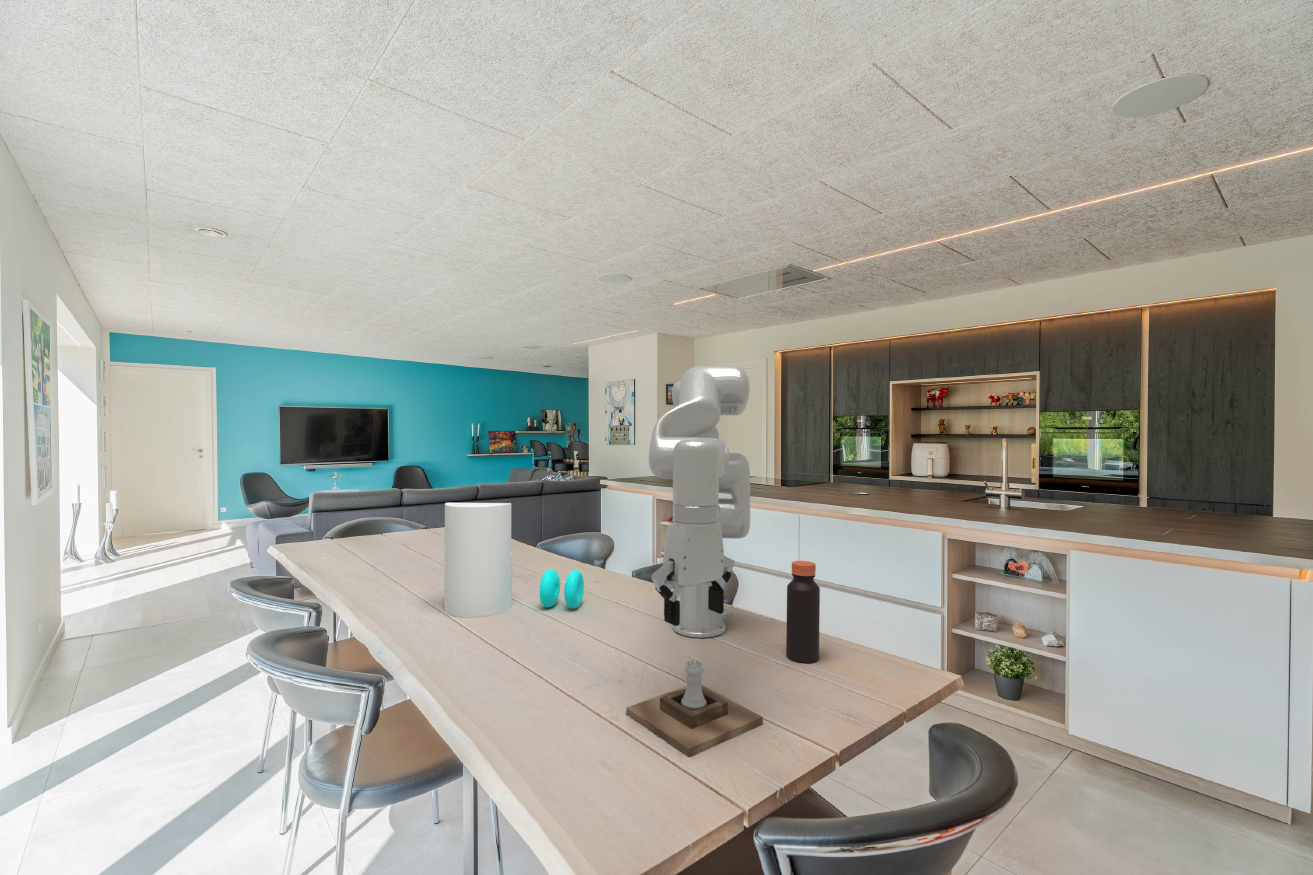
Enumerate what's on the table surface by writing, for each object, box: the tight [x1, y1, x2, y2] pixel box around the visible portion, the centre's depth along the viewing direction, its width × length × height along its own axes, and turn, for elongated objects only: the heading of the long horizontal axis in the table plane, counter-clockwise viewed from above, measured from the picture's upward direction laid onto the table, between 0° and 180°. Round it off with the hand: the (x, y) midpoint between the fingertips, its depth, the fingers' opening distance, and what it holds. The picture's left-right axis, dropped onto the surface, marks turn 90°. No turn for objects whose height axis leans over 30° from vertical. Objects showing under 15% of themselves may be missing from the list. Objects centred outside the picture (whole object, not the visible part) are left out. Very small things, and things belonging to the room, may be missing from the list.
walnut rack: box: [625, 684, 764, 758], centre depth 97 cm, size 16×16×3 cm
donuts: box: [539, 568, 585, 610], centre depth 157 cm, size 10×10×10 cm
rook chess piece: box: [681, 660, 707, 711], centre depth 97 cm, size 4×4×8 cm
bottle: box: [785, 560, 821, 664], centre depth 123 cm, size 7×7×20 cm
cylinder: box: [444, 502, 513, 619], centre depth 156 cm, size 17×17×28 cm
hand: (694, 617), depth 97 cm, fingers open, 9 cm apart
